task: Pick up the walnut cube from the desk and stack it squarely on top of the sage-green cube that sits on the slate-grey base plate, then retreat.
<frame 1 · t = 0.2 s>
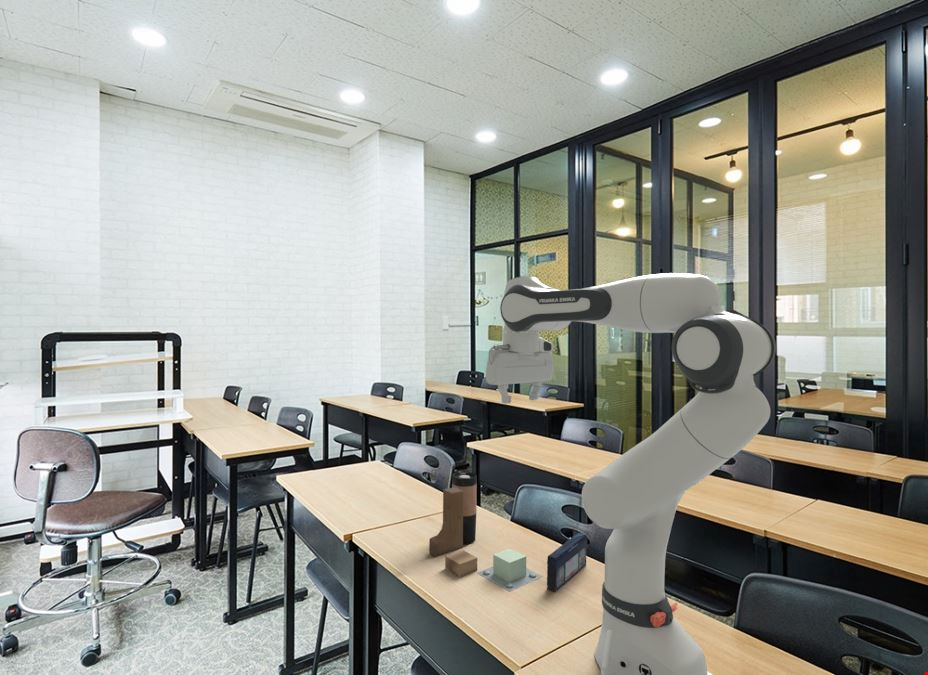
hand: (520, 401, 121), 47 cm above the table, fingers open, 8 cm apart
base plate: (509, 580, 130), on the table
wooden block: (446, 553, 145), on the table
vhs cassette tape: (567, 583, 129), on the table
green brick: (509, 574, 130), point 1 cm above the table, touching base plate
walnut brick: (461, 575, 132), on the table
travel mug: (463, 540, 155), on the table
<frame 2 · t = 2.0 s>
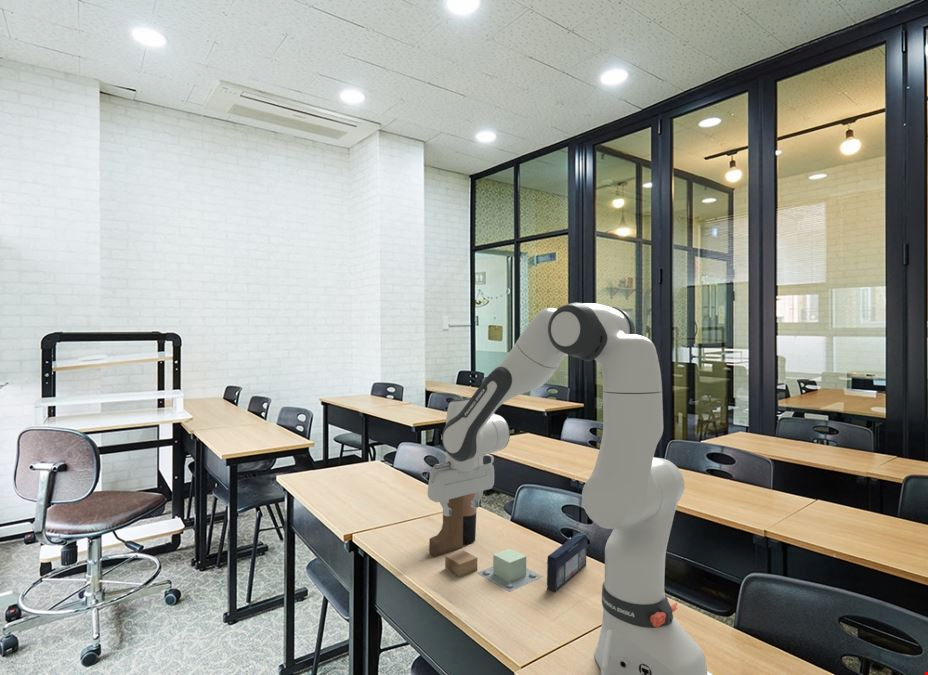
hand: (461, 511, 132), 17 cm above the table, fingers open, 8 cm apart
nothing on the table moved.
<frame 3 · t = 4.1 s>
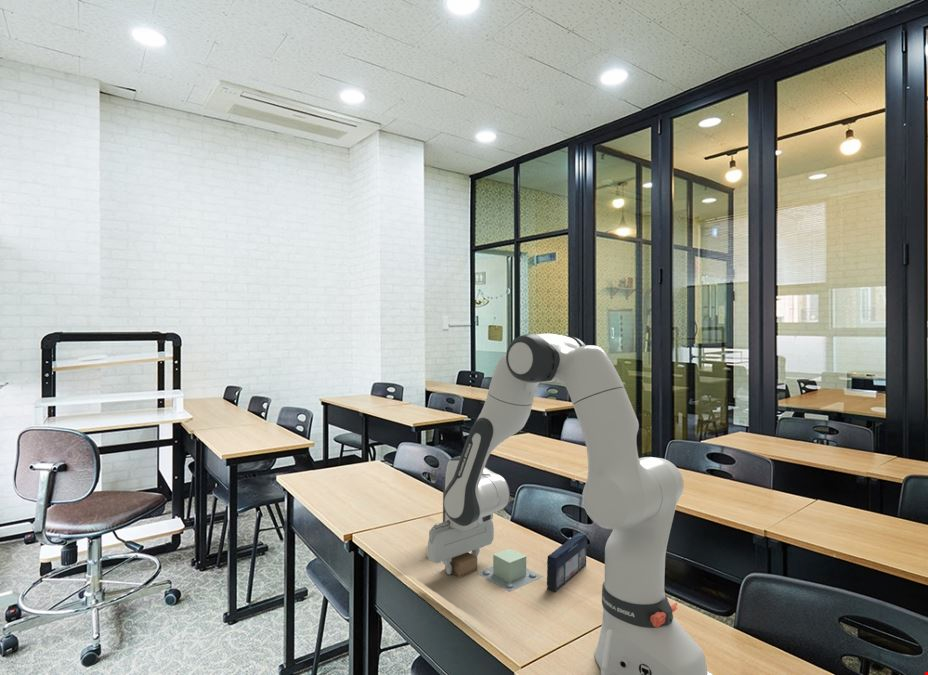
hand: (461, 568, 132), 2 cm above the table, fingers closed on walnut brick, 6 cm apart
walnut brick: (461, 575, 132), on the table, touching gripper
everything else where it was.
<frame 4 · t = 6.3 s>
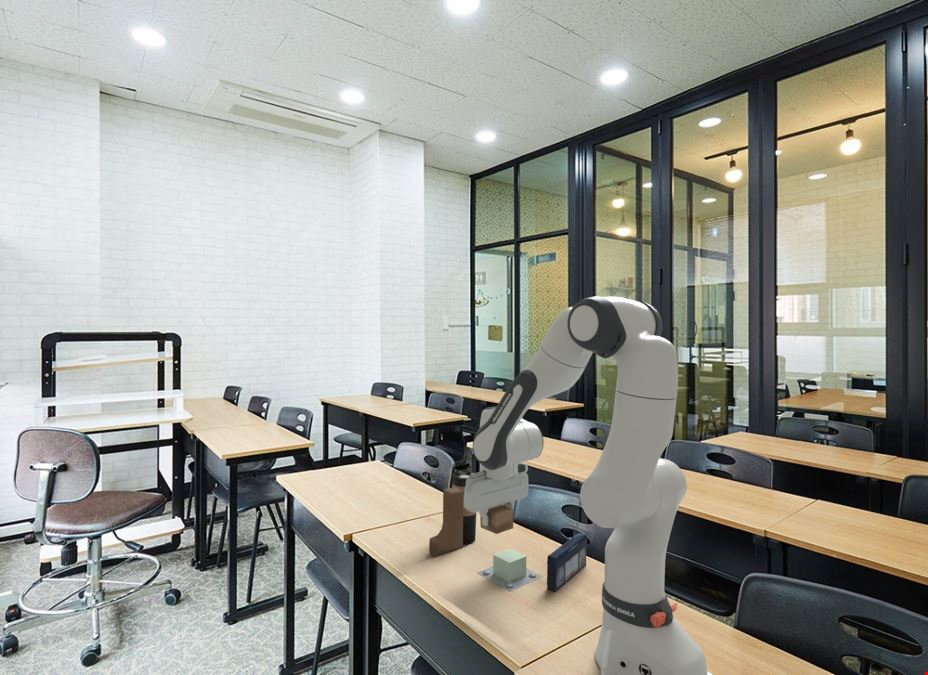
hand: (497, 521, 130), 15 cm above the table, fingers closed on walnut brick, 6 cm apart
walnut brick: (496, 527, 130), point 14 cm above the table, touching gripper
everything else where it was.
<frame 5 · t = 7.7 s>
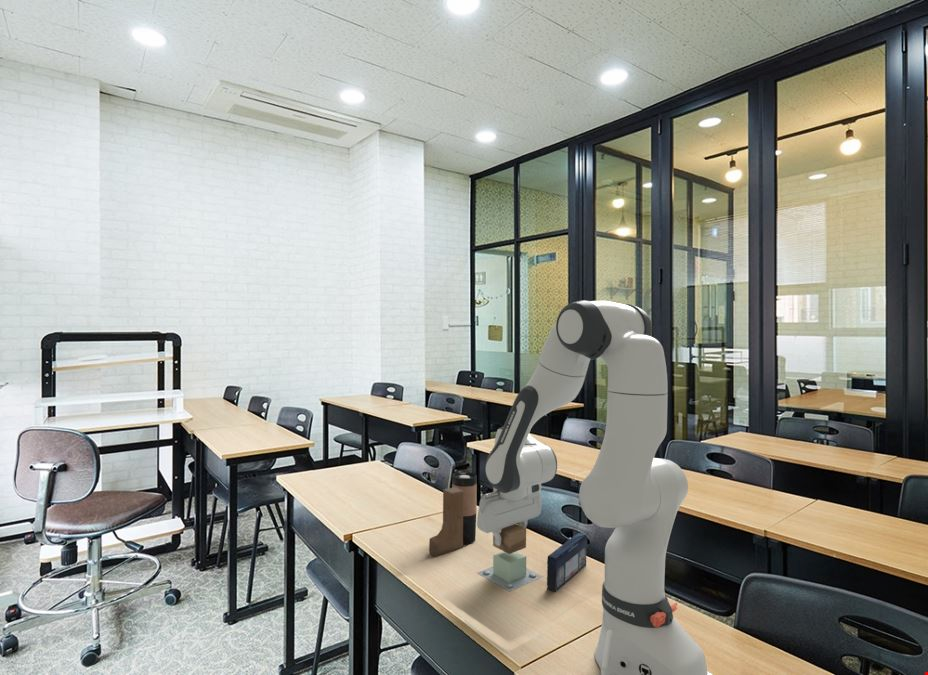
hand: (509, 540, 130), 10 cm above the table, fingers closed on walnut brick, 6 cm apart
walnut brick: (509, 546, 130), point 9 cm above the table, touching gripper
everything else where it was.
when the fingers open (10 cm above the table, at t = 8.7 s): walnut brick drops 1 cm, resting on green brick.
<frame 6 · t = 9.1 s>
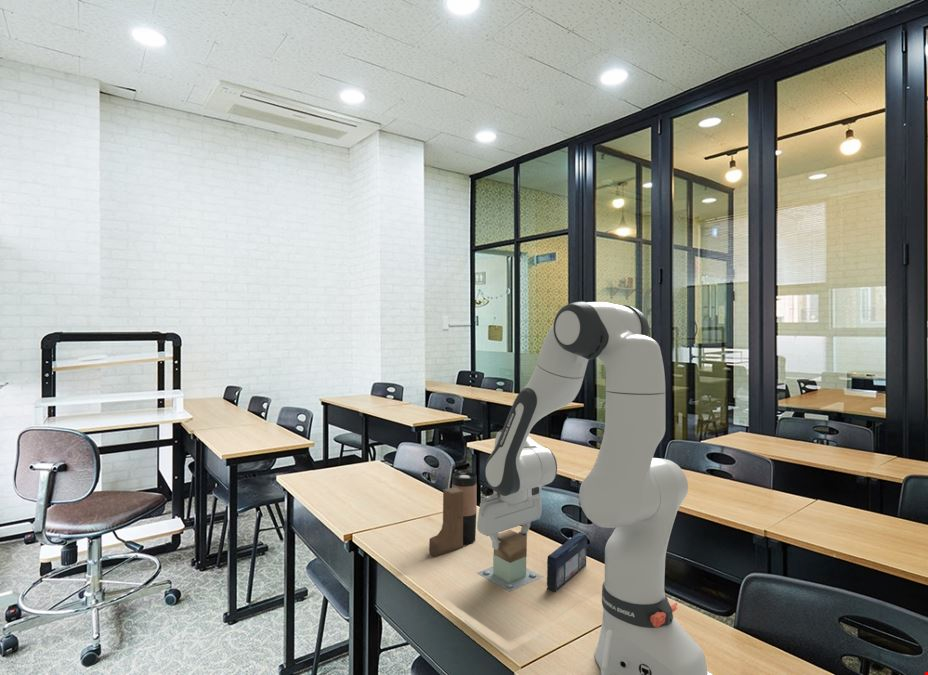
hand: (510, 543, 130), 10 cm above the table, fingers open, 8 cm apart
green brick: (509, 574, 130), point 1 cm above the table, touching base plate, walnut brick
walnut brick: (510, 555, 130), point 6 cm above the table, touching green brick
everything else where it was.
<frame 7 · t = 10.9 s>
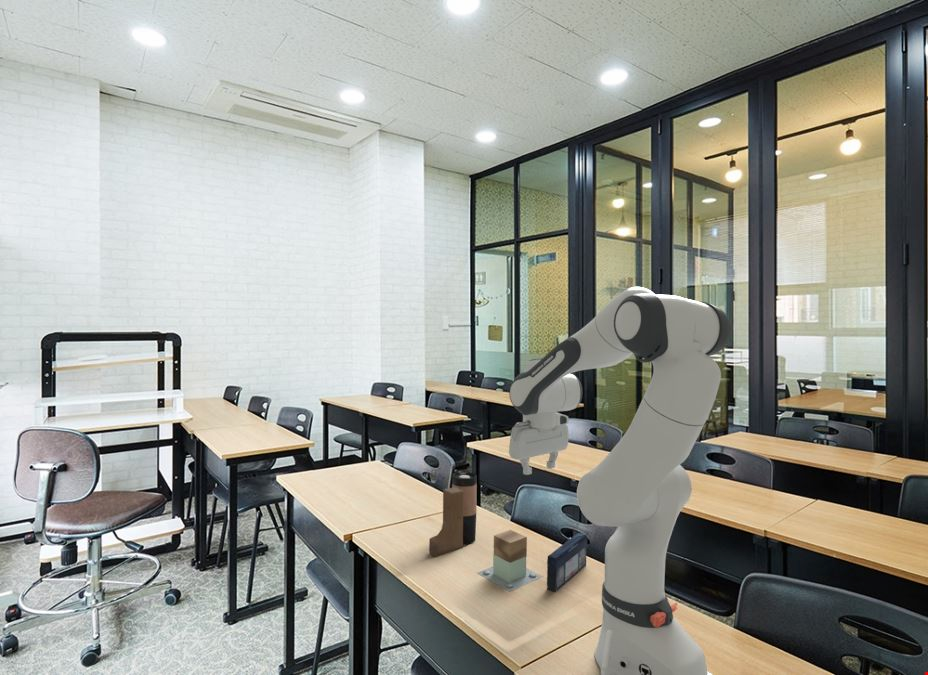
hand: (539, 471, 133), 27 cm above the table, fingers open, 8 cm apart
nothing on the table moved.
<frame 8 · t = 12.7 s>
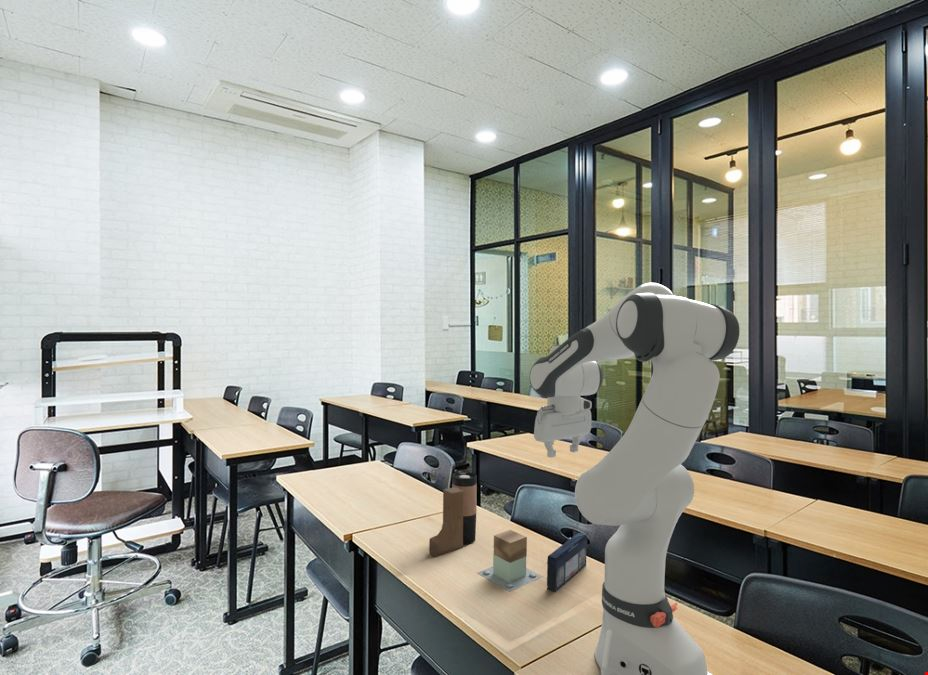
hand: (562, 454, 137), 31 cm above the table, fingers open, 8 cm apart
nothing on the table moved.
at the end: walnut brick 0.1 cm off-centre on the green brick, point 5.0 cm above the green brick's base; walnut brick tilted 0°; green brick moved 0.0 cm from its start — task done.
